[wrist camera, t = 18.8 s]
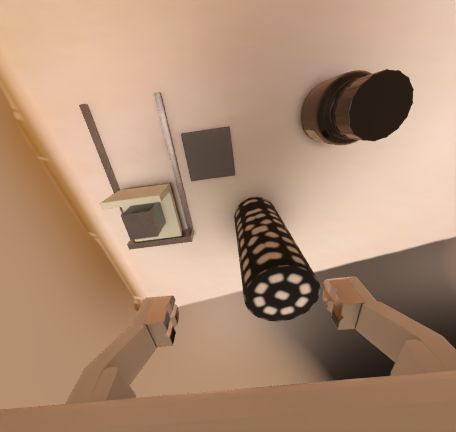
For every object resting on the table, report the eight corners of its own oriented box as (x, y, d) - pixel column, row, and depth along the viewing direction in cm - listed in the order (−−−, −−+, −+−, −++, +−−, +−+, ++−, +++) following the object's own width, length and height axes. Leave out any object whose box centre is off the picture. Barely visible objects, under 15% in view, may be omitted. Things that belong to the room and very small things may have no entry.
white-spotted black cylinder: (227, 226, 41) (231, 309, 23) (246, 190, 38) (267, 254, 20) (263, 240, 42) (293, 328, 24) (283, 207, 39) (336, 280, 21)
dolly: (123, 187, 37) (99, 203, 30) (171, 180, 36) (159, 195, 29) (140, 234, 41) (123, 258, 34) (184, 228, 41) (176, 251, 34)
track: (82, 105, 31) (69, 103, 28) (160, 93, 31) (154, 90, 28) (135, 241, 42) (129, 249, 39) (194, 233, 41) (192, 241, 39)
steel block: (133, 202, 35) (120, 215, 30) (159, 199, 35) (149, 211, 30) (142, 225, 37) (130, 240, 32) (165, 222, 37) (158, 236, 32)
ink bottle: (299, 147, 35) (334, 159, 24) (295, 88, 31) (334, 71, 20) (357, 133, 34) (420, 139, 23) (359, 71, 30) (436, 44, 19)
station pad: (181, 133, 33) (180, 133, 33) (229, 126, 33) (229, 126, 33) (191, 180, 37) (191, 181, 36) (235, 174, 36) (235, 175, 36)
